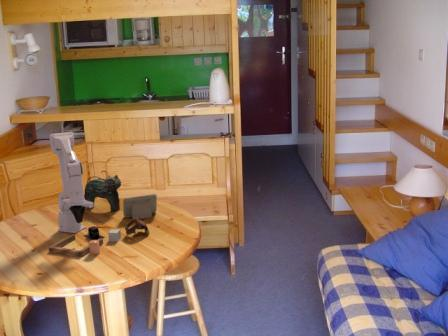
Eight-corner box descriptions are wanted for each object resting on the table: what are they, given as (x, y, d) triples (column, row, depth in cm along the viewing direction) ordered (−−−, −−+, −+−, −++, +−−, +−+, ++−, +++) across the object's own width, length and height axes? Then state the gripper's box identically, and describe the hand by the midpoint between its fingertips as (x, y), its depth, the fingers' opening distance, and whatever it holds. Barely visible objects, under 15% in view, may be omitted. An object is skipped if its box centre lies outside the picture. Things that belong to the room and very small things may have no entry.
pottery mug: (149, 239, 238) (138, 225, 235) (131, 247, 241) (120, 234, 238) (153, 223, 249) (143, 209, 245) (136, 231, 251) (125, 217, 248)
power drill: (124, 209, 277) (120, 170, 272) (117, 213, 271) (113, 173, 266) (90, 205, 284) (86, 167, 279) (82, 209, 278) (78, 171, 273)
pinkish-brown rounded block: (87, 254, 224) (86, 243, 222) (93, 250, 227) (92, 239, 226) (96, 256, 222) (94, 244, 221) (102, 252, 226) (100, 240, 224)
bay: (49, 251, 228) (48, 247, 227) (72, 238, 241) (72, 234, 240) (81, 257, 221) (80, 252, 221) (103, 243, 235) (102, 238, 234)
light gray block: (109, 241, 237) (108, 232, 235) (112, 237, 240) (111, 229, 239) (118, 241, 236) (117, 233, 235) (121, 238, 240) (120, 229, 239)
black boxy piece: (79, 236, 245) (78, 226, 244) (94, 232, 250) (93, 222, 248) (94, 243, 236) (93, 233, 235) (109, 238, 241) (108, 228, 240)
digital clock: (157, 212, 271) (156, 191, 268) (158, 218, 262) (156, 196, 260) (123, 214, 269) (122, 193, 266) (123, 221, 260) (121, 199, 257)
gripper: (55, 192, 227) (59, 223, 231) (84, 195, 222) (87, 227, 225) (66, 187, 234) (70, 217, 237) (95, 190, 228) (98, 221, 232)
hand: (79, 222), depth 232 cm, fingers closed
